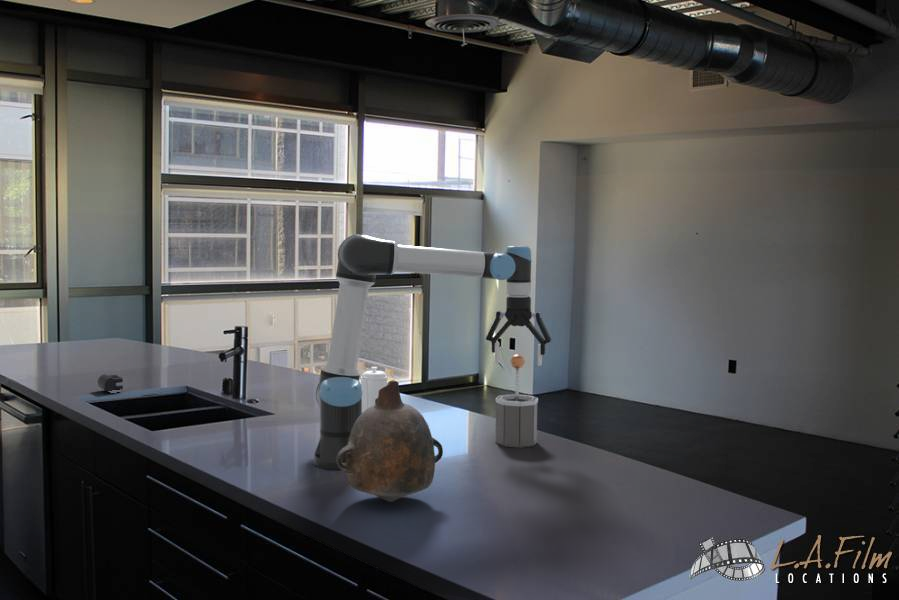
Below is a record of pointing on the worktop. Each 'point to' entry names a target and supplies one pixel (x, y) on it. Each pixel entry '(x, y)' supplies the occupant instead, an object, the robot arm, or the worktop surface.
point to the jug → (390, 449)
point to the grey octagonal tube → (516, 420)
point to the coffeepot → (372, 386)
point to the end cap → (110, 382)
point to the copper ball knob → (517, 371)
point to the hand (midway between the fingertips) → (518, 364)
